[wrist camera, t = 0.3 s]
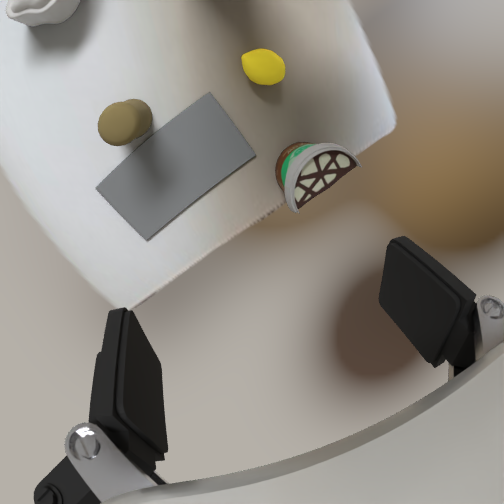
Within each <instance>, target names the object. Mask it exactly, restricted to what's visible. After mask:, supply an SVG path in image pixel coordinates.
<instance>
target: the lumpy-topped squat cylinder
mask: <svg viewBox="0 0 504 504" xmlns="http://www.w3.org/2000/svg"><path fill="white" fill-rule="evenodd" d="M80 1H81V0H8V2H7V6H6V14H7V16H8V17H9V18H10V19H13V20H15V21H18V22H20V23H23V24H26V25H28V26H31V27H34V26H38V25H42V24H59V23H62V22H64V21H66V20H67V19H68V18H69V17H70V16H71V15H72V14H73V13H74V12H75V10H76V9H77V7H78V5H79V3H80Z"/></svg>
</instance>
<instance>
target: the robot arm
mask: <svg viewBox="0 0 504 504" xmlns="http://www.w3.org/2000/svg"><path fill="white" fill-rule="evenodd" d="M475 297H476V294H475V293H474V292H473V291H472V290H470V289H469V288H468V287H467V286H466V285H465V284H464V283H463V282H461V281H460V280H459V279H458V278H457V277H456V276H455V275H453V274H452V273H451V272H450V271H449V270H447V269H446V268H445V267H444V266H443V265H441V264H440V263H439V262H438V261H437V260H435V259H434V258H433V257H431V256H430V255H429V254H428V253H427V252H425V251H424V250H423V249H422V248H420V247H419V246H417V245H416V244H415V243H414V242H412V241H411V240H410V239H409V238H407V237H405V236H401V237H398V238H394V239H392V240H391V241H390V243H389V244H388V246H387V250H386V257H385V264H384V270H383V276H382V282H381V288H380V293H379V303H380V305H381V307H382V308H383V309H384V310H385V311H386V313H387V314H388V315H389V316H390V317H391V318H392V320H393V321H394V322H395V323H396V324H397V325H398V327H399V328H400V329H401V330H402V332H403V333H404V334H405V335H406V337H407V338H408V339H409V340H410V341H411V343H412V344H413V345H414V346H415V348H416V349H417V350H418V351H419V353H420V354H421V355H422V356H423V358H424V359H425V360H426V361H427V362H428V363H431V364H432V365H433V367H434V368H436V367H437V366H439V365H440V364H442V363H444V361H445V360H447V361H448V362H449V369H448V382H447V383H445V384H444V385H443V386H441V387H439V388H438V389H436V390H435V391H433V392H432V393H430V394H428V395H427V396H425V397H424V398H422V399H420V400H419V401H417V402H415V403H414V404H412V405H410V406H408V407H407V408H405V409H403V410H401V411H400V412H398V413H396V414H394V415H392V416H390V417H388V418H386V419H384V420H382V421H380V422H378V423H377V424H374V425H373V426H370V427H368V428H366V429H364V430H362V431H359V432H357V433H355V434H353V435H351V436H348V437H346V438H343V439H341V440H339V441H336V442H334V443H331V444H328V445H326V446H324V447H321V448H318V449H315V450H312V451H310V452H307V453H304V454H301V455H298V456H295V457H292V458H289V459H285V460H282V461H279V462H276V463H272V464H268V465H264V466H261V467H257V468H253V469H248V470H244V471H240V472H235V473H231V474H226V475H221V476H216V477H210V478H205V479H198V480H193V481H185V482H179V483H172V484H169V483H168V482H167V481H166V480H165V479H163V478H162V477H161V476H160V475H159V474H158V473H157V472H156V471H155V469H156V465H155V461H163V460H165V458H164V453H166V452H168V443H167V434H166V424H165V412H164V400H163V384H162V368H161V363H160V361H159V359H158V357H157V355H156V354H155V352H154V350H153V348H152V347H151V345H150V343H149V341H148V339H147V337H146V336H145V334H144V332H143V330H142V328H141V326H140V324H139V322H138V320H137V318H136V316H135V314H134V312H133V311H132V310H131V311H128V310H127V309H126V308H125V307H124V308H119V309H115V310H111V311H109V313H108V319H107V323H106V329H105V334H104V339H103V345H102V351H101V352H99V353H98V354H97V358H96V364H95V370H94V377H93V385H92V393H91V402H90V412H89V423H81V424H78V425H76V426H75V427H73V428H72V429H71V430H70V432H68V435H67V437H66V439H65V452H66V454H67V456H66V457H65V458H64V459H63V460H62V461H61V462H60V463H59V464H58V465H57V466H56V467H55V468H54V469H53V470H52V471H51V472H50V473H49V474H48V475H47V476H46V477H45V478H44V479H43V480H42V481H41V482H40V483H39V484H38V485H37V487H36V488H35V491H34V502H35V504H504V303H503V302H502V301H501V300H499V299H498V298H496V297H494V296H490V295H484V296H482V297H480V298H479V299H478V301H477V303H475V302H474V299H475Z"/></svg>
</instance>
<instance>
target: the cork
mask: <svg viewBox="0 0 504 504" xmlns="http://www.w3.org/2000/svg"><path fill="white" fill-rule="evenodd" d="M151 122H152V112H151V110H150V107H149V106H148V105H147V104H146V103H145V102H143V101H141V100H137V99H130V100H127V101H124V102H117V103H114V104H112V105H110V106H108V107H107V108H106V109H105V110H104V111H103V112H102V114H101V116H100V118H99V121H98V132H99V134H100V136H101V138H102V139H103V140H104V141H105V142H106V143H108V144H110V145H114V146H122V145H126V144H128V143H130V142H131V141H132V140H133V139H135V138H138V137H140V136H142V135H143V134H144V133H146V132H147V130H148V129H149V127H150V126H151Z"/></svg>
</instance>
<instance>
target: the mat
mask: <svg viewBox="0 0 504 504" xmlns="http://www.w3.org/2000/svg"><path fill="white" fill-rule="evenodd" d="M255 155H256V154H255V153H254V151H253V150H252V148H251V147H250V146H249V144H248V143H247V141H246V140H245V139H244V137H243V136H242V134H241V133H240V132H239V130H238V129H237V128H236V126H235V125H234V123H233V122H232V121H231V119H230V118H229V117H228V115H227V114H226V113H225V111H224V110H223V109H222V107H221V106H220V105H219V103H218V102H217V101H216V99H215V98H214V97H213V95H212V94H211V93H210V92H209V93H207V94H206V95H205V96H203V97H202V98H200V99H199V100H197V101H196V102H195V103H193V104H192V105H191V106H189V107H188V108H187V109H185V110H184V111H183V112H181V113H180V114H179V115H177V116H176V117H175V118H173V119H172V120H171V121H170V122H168V123H167V124H166V125H165V126H163V127H162V128H161V129H160V130H158V131H157V132H156V133H155V134H154V135H152V136H151V137H150V138H149V139H148V140H146V141H145V142H144V143H143V144H142V145H141V146H139V147H138V148H137V149H136V150H135V151H134V152H133V153H132V154H130V155H129V156H128V157H127V158H126V159H125V160H124V161H123V162H122V163H121V164H120V165H118V166H117V167H116V168H115V169H114V170H113V171H112V172H111V173H110V174H109V175H108V176H107V177H106V178H105V179H104V180H103V181H102V182H101V183H100V184H99V185H98V186H97V187H96V189H97V191H98V192H99V193H100V194H101V195H102V196H103V197H104V198H105V199H106V200H107V201H108V202H109V203H110V204H111V205H112V207H113V208H114V209H115V210H116V211H117V212H118V213H119V214H120V215H121V216H122V217H123V218H124V219H125V220H126V221H127V222H128V223H129V224H130V225H131V226H132V227H133V228H134V229H135V230H136V231H137V232H138V233H139V234H140V235H141V236H142V237H143V238H144V239H145V240H147V239H148V238H150V237H151V236H152V235H153V234H154V233H156V232H157V231H158V230H159V229H160V228H162V227H163V226H164V225H165V224H166V223H168V222H169V221H170V220H171V219H172V218H174V217H175V216H176V215H177V214H179V213H180V212H181V211H182V210H183V209H185V208H186V207H187V206H189V205H190V204H191V203H192V202H194V201H195V200H196V199H197V198H199V197H200V196H201V195H202V194H204V193H205V192H206V191H208V190H209V189H210V188H212V187H213V186H214V185H216V184H217V183H218V182H219V181H221V180H222V179H223V178H225V177H226V176H227V175H229V174H230V173H232V172H233V171H234V170H236V169H237V168H238V167H240V166H241V165H242V164H244V163H245V162H247V161H248V160H249V159H251V158H252V157H254V156H255Z"/></svg>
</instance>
